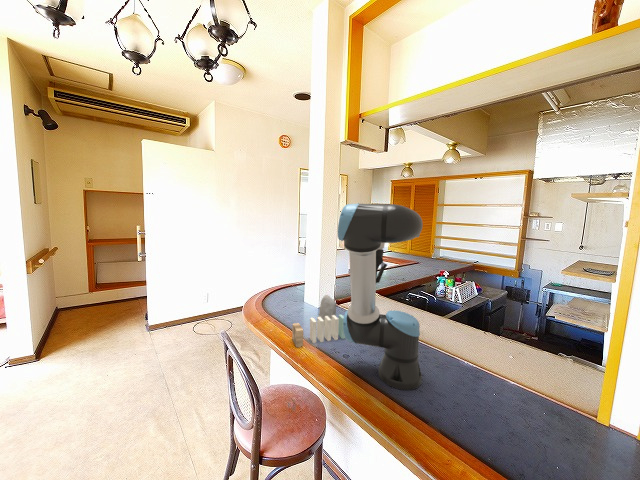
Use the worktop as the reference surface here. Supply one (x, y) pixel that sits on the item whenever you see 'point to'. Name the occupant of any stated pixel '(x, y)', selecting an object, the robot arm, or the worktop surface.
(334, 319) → the domino
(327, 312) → the decorative stone
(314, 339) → the domino
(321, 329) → the domino
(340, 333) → the domino
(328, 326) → the domino
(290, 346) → the worktop surface
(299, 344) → the end block
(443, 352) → the worktop surface
